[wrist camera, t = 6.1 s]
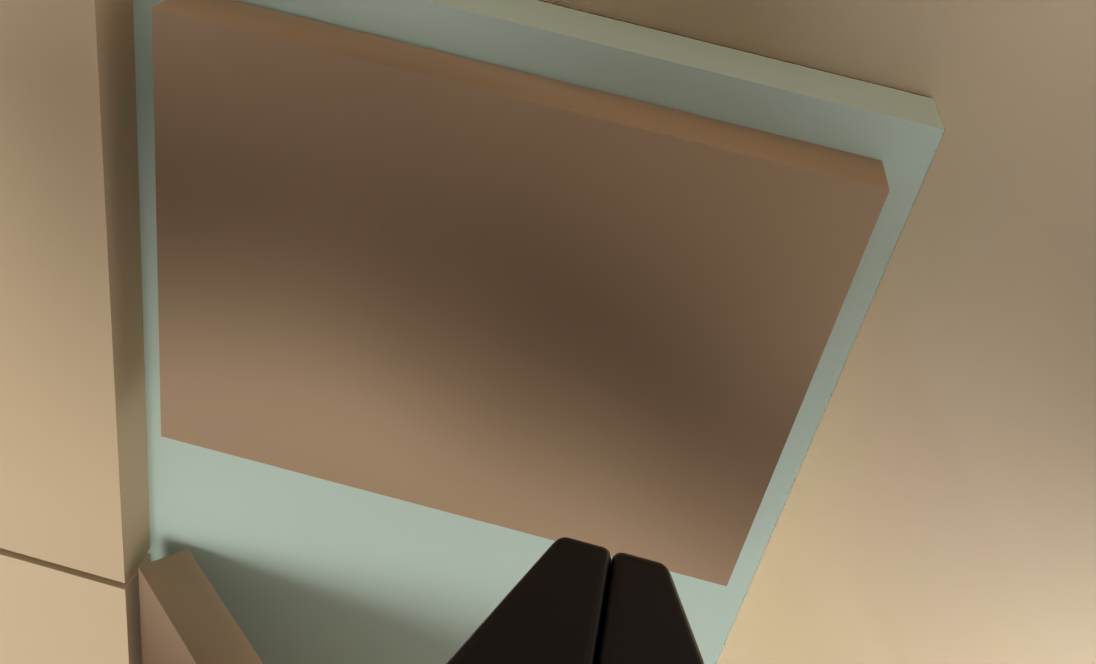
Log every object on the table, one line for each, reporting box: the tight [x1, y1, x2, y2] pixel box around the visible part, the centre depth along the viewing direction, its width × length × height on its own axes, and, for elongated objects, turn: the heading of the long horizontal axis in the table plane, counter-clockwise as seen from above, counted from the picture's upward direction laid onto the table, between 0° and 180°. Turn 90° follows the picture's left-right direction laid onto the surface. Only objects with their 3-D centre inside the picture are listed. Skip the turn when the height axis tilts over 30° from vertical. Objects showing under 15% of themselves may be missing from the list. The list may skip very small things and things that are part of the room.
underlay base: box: [0, 0, 945, 664], centre depth 16 cm, size 16×14×2 cm
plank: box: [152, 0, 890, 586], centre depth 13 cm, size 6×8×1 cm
